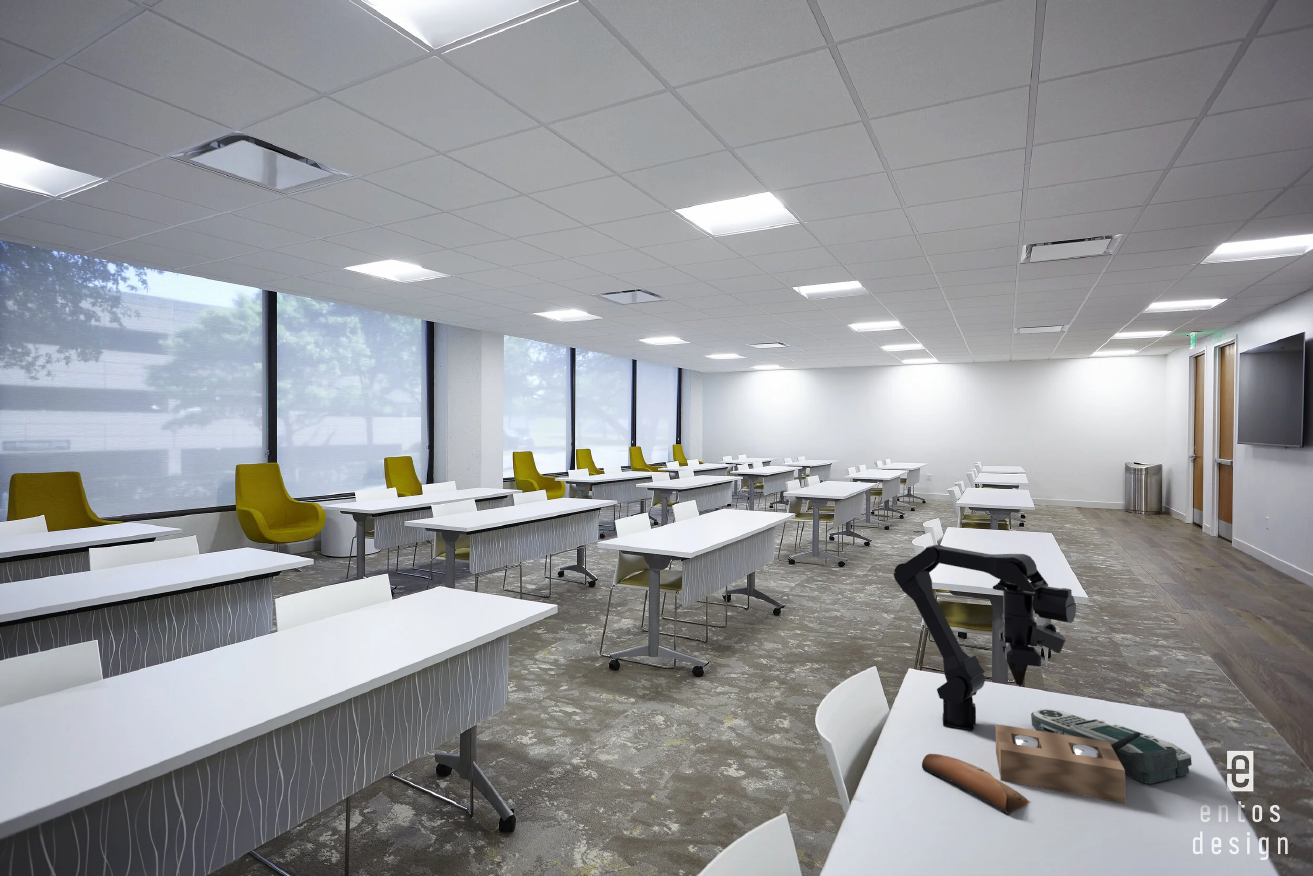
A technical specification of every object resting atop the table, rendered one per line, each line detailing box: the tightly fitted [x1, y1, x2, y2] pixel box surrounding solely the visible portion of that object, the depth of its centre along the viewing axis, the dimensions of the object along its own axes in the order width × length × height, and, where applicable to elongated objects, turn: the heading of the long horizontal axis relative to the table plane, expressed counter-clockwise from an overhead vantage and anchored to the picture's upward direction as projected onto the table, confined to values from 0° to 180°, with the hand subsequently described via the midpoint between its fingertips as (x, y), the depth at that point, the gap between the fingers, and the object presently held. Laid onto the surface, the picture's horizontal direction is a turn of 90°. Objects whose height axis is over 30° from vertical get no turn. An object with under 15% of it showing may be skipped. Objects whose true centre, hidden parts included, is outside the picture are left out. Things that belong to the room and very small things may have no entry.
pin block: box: [995, 723, 1126, 804], centre depth 125 cm, size 20×12×6 cm, turn 66°
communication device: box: [1030, 708, 1193, 785], centre depth 135 cm, size 14×28×10 cm, turn 18°
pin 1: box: [1015, 735, 1038, 748], centre depth 127 cm, size 4×4×6 cm
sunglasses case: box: [921, 753, 1031, 815], centre depth 122 cm, size 18×7×7 cm
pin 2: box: [1073, 745, 1098, 758], centre depth 123 cm, size 4×4×6 cm
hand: (1019, 684), depth 138 cm, fingers closed
